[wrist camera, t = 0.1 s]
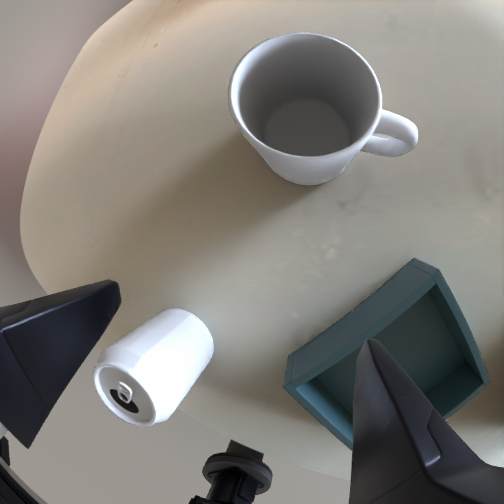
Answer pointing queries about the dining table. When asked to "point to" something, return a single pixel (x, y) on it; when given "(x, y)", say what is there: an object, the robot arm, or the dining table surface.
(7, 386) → the robot arm
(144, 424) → the can
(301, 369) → the box
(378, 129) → the mug
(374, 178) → the dining table surface
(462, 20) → the dining table surface
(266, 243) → the dining table surface
